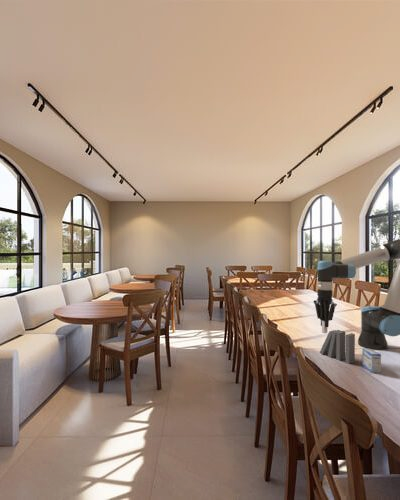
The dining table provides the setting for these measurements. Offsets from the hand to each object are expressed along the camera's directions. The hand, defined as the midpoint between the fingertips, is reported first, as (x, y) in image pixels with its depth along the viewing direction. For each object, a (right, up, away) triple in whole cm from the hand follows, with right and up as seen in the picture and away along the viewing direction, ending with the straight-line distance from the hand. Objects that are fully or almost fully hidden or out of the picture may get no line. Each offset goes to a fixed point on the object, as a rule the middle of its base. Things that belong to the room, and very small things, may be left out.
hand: (324, 332), depth 163 cm
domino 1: (0, -11, 0) cm, 11 cm away
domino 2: (+2, -11, -4) cm, 12 cm away
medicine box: (+13, -12, -21) cm, 28 cm away
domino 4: (+8, -12, -12) cm, 18 cm away
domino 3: (+5, -12, -8) cm, 15 cm away
